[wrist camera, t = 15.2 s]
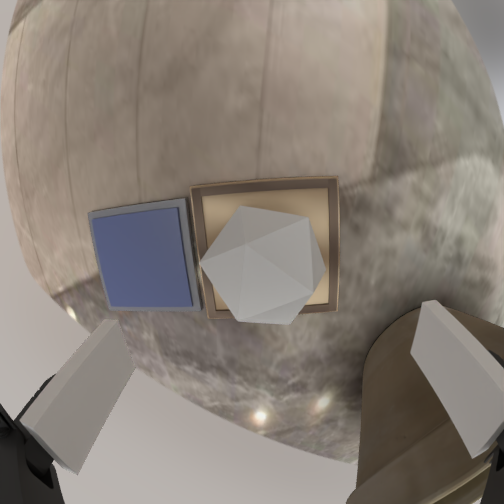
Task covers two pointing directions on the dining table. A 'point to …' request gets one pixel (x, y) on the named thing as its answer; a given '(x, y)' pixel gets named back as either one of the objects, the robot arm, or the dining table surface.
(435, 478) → the plant pot
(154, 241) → the ink pad
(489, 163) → the dining table surface
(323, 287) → the board
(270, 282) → the die
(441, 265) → the dining table surface
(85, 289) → the dining table surface
